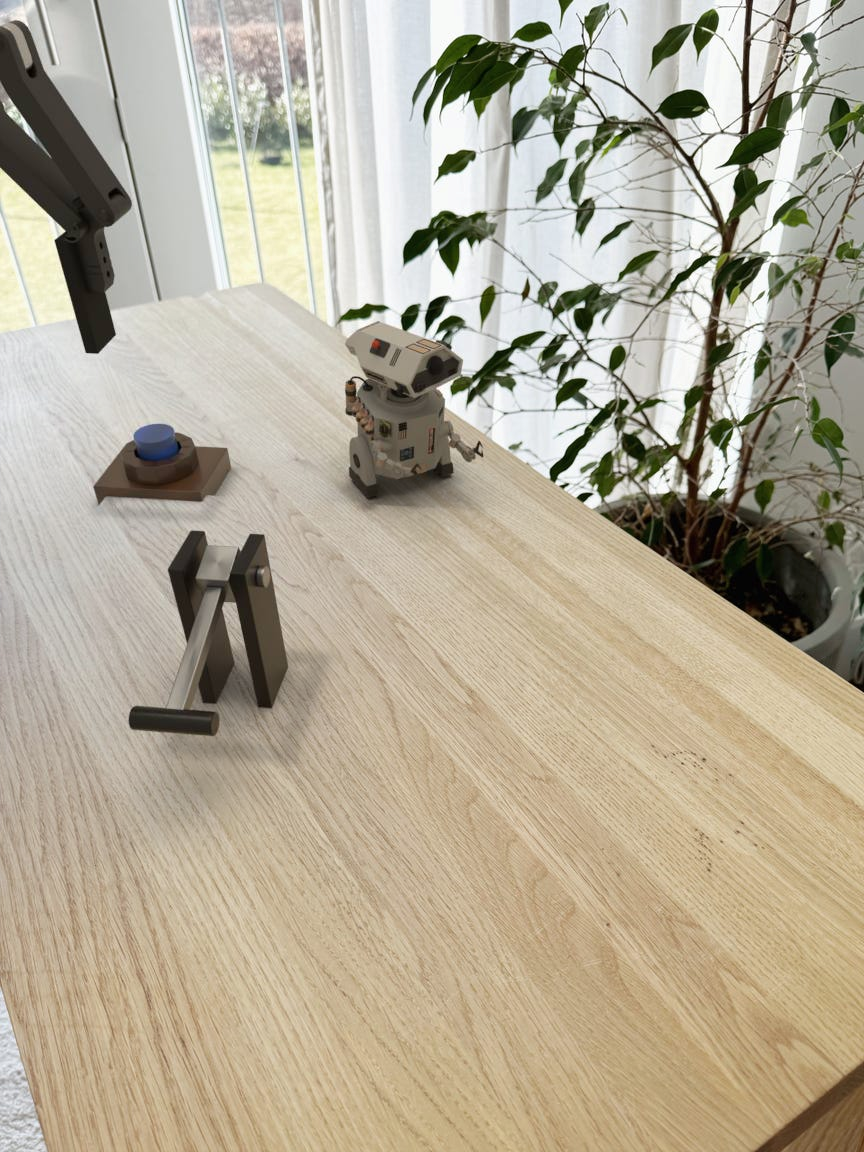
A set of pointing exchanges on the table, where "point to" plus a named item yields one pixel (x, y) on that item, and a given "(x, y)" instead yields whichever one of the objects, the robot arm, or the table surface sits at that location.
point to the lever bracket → (254, 616)
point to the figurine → (401, 406)
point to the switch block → (165, 473)
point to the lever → (194, 653)
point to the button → (155, 442)
